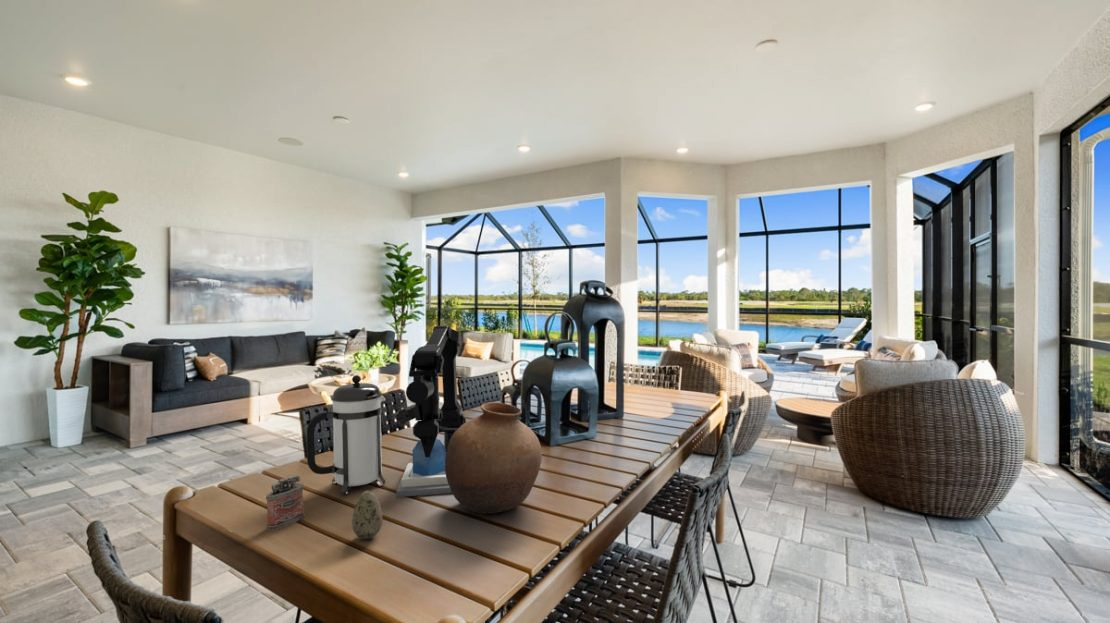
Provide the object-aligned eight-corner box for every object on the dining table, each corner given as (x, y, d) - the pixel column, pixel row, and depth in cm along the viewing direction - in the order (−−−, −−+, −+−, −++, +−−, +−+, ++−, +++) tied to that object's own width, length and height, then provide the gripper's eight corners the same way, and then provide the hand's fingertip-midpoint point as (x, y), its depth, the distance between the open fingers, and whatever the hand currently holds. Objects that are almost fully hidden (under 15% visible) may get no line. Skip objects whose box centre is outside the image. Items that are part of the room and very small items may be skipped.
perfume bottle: (445, 470, 134) (444, 427, 134) (428, 477, 129) (428, 432, 129) (430, 466, 138) (429, 424, 137) (412, 472, 132) (412, 429, 132)
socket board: (406, 472, 141) (405, 460, 141) (458, 468, 143) (458, 457, 143) (396, 497, 123) (395, 483, 123) (456, 492, 126) (455, 479, 125)
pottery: (437, 498, 122) (435, 400, 122) (523, 483, 131) (522, 392, 131) (456, 538, 101) (454, 420, 101) (557, 517, 110) (556, 409, 110)
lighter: (271, 531, 105) (270, 486, 105) (263, 528, 107) (262, 483, 107) (307, 517, 112) (306, 474, 112) (299, 514, 114) (298, 472, 114)
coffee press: (347, 472, 141) (345, 370, 140) (397, 476, 138) (395, 371, 137) (305, 496, 124) (303, 380, 123) (361, 501, 121) (359, 382, 120)
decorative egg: (361, 530, 105) (360, 485, 105) (387, 531, 105) (386, 486, 104) (346, 544, 99) (345, 496, 99) (374, 545, 99) (373, 497, 98)
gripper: (402, 390, 141) (403, 443, 141) (391, 404, 122) (393, 465, 123) (441, 388, 142) (442, 441, 143) (436, 402, 124) (438, 462, 124)
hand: (429, 451), depth 133 cm, fingers closed on perfume bottle, 9 cm apart
